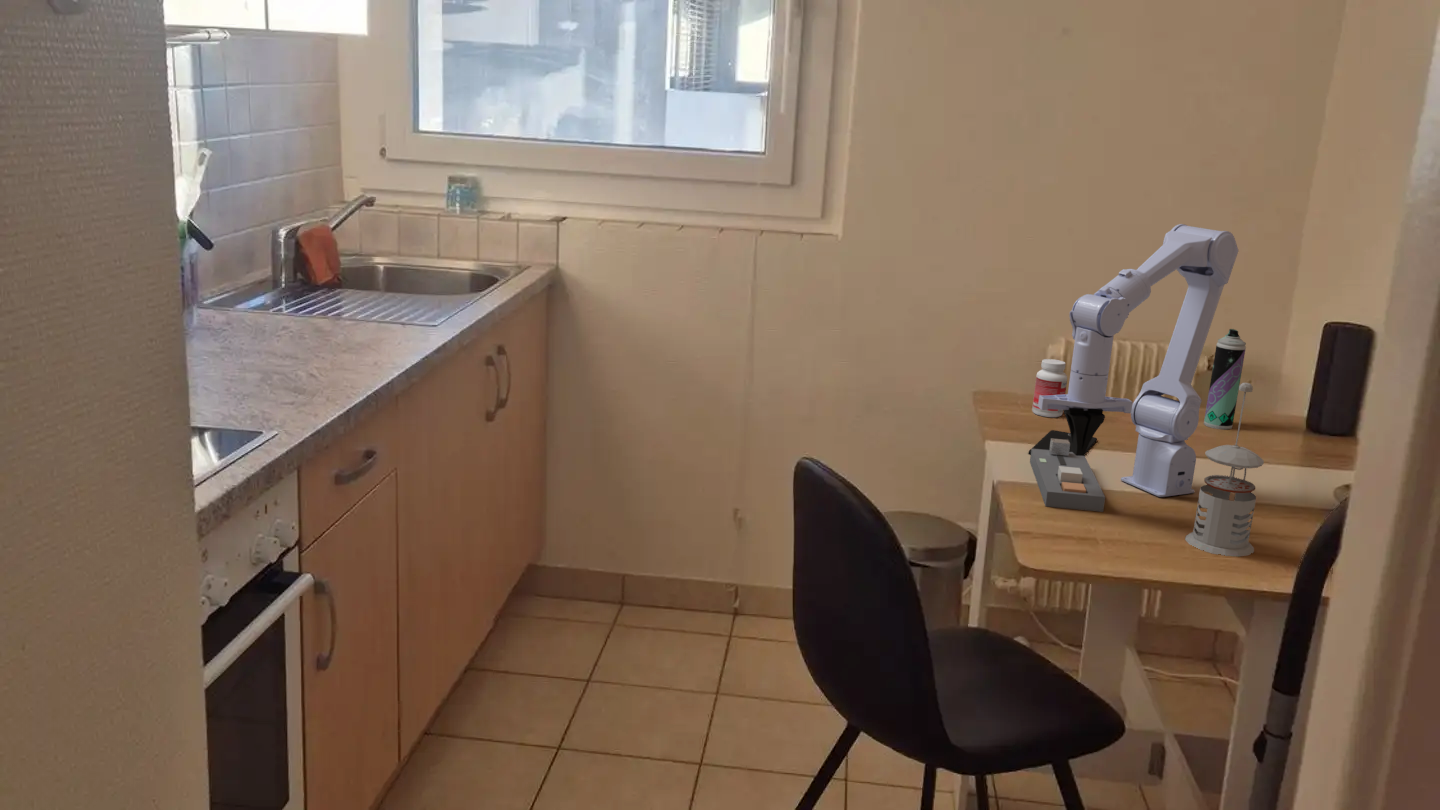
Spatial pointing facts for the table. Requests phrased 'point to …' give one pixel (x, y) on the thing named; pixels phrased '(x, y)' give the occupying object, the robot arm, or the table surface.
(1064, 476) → the grey button
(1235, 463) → the french press
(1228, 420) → the spray can
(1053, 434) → the cell phone
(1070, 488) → the orange button
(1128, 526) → the table surface
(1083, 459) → the switch panel
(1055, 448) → the toggle knob
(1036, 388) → the pill bottle
